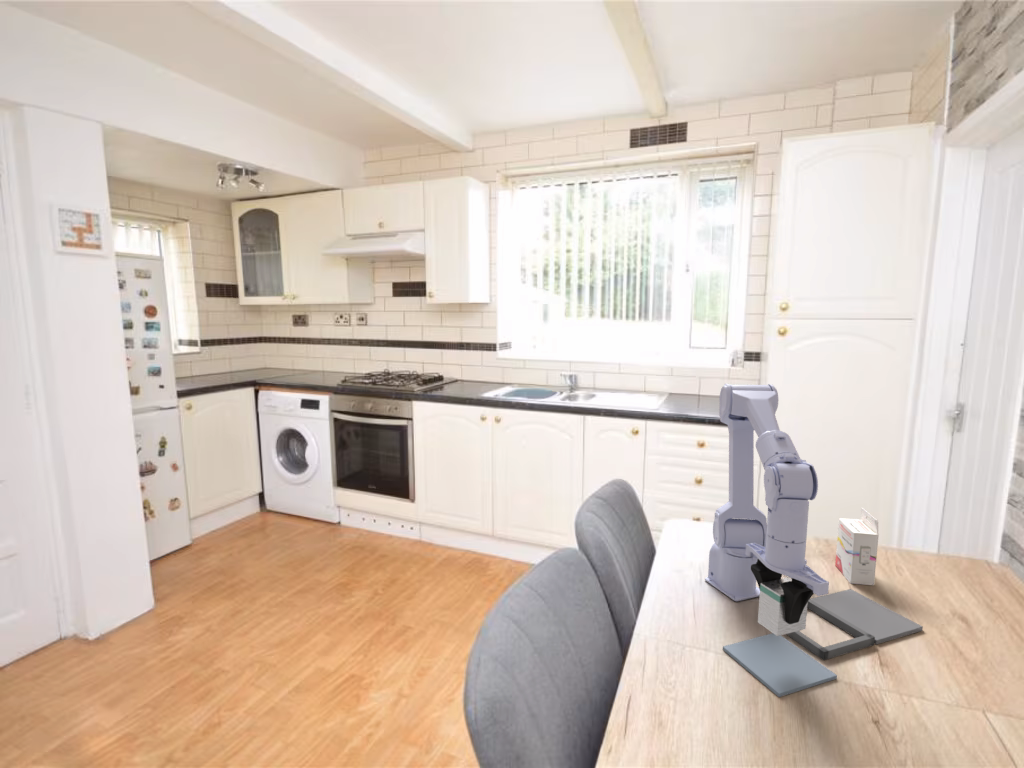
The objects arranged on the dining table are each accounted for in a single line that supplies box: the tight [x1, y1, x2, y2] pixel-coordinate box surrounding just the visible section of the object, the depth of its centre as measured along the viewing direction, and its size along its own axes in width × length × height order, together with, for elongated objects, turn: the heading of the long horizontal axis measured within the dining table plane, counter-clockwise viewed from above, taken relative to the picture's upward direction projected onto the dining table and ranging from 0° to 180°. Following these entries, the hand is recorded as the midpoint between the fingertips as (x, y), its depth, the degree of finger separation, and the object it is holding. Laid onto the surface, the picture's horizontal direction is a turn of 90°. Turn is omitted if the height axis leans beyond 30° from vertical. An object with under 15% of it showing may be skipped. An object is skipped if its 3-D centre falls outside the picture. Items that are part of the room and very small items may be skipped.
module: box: [757, 576, 808, 636], centre depth 85 cm, size 4×6×7 cm, turn 109°
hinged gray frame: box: [786, 588, 924, 661], centre depth 97 cm, size 14×24×2 cm, turn 109°
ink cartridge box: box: [834, 507, 879, 586], centre depth 114 cm, size 9×5×15 cm, turn 168°
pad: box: [722, 632, 838, 698], centre depth 86 cm, size 12×12×1 cm
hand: (780, 614), depth 85 cm, fingers closed on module, 4 cm apart
